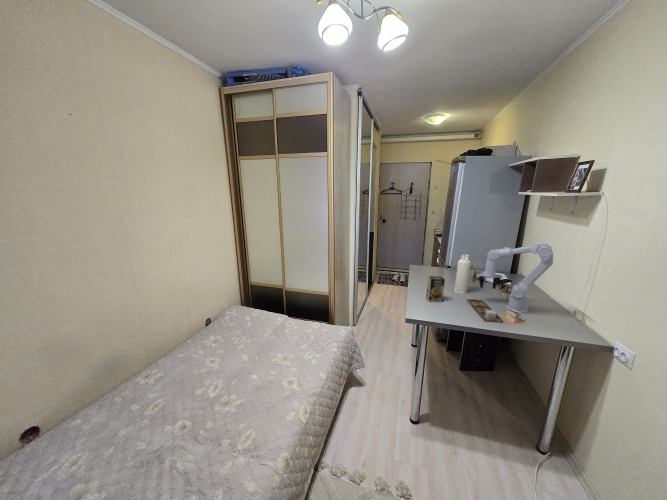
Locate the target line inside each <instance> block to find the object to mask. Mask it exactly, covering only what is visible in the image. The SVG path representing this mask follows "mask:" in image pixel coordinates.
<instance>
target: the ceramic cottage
mask: <svg viewBox="0 0 667 500" xmlns="http://www.w3.org/2000/svg"><path fill="white" fill-rule="evenodd" d="M470 262H471V261H470ZM484 273H485V272H484V270H483V269H476V268H475V267H474V265H473V262H471V265H470V271H469V278H468V284H475V285H476V284H479V285H480V282H479V279H478V277H477V274H484ZM483 278H484V279H485V280H484V283H483V284H486V279H487V278H485V277H483Z"/></svg>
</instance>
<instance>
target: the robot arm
mask: <svg viewBox="0 0 667 500" xmlns="http://www.w3.org/2000/svg"><path fill="white" fill-rule="evenodd" d="M525 253H530V254H534V255H538V256H539V257H540V263H538V265H537V266H535V267H533V269H532V270H531V271H530V272H529V273H528V274H527V275H526V276H525V277H524V278H523V279H522V280H520V281H519V282H518V283H516V284H514V285H513V286H512V288H511V289H512V290H511V293H510V294H509V299H508V305H505V307H506V308H507V310H511V309H513V310H516V311H518V312H520V313H521V314H522V313H524V314H528V308H529V303H530V301H529V298H528V297H527V296H525V294H526V292H527V291H528V289H529V288H530V287H532V285H533V284H534V283H535V282H536V281H537V280H538V279H539V278H541V276H542V275H543V274H544V273H546V271H548V270H549V269H550V267H552V266H553V264H554V263H553V262H554V252H553V249H552V247H551V245H550V244H548V243H540V244H531V245H526V246H521V247H516V248H511V247H508V246H505V247H504V248H499V249H498V248H495V249H490V250H489V251H488V253H487V258H486V263H485V269H484V272H483V273H484V274H477V277H478V279H479V282H480V284H479V287H480V288H481V289H483V288H484V284H485V283H484V280H485V281H486V279H488V278H489V279H493V280H492V285H491V286H492V289H493V290H495V289H496V287H497V286H498V285H499V283H500V282H501V279H503V275H502V274H496V271H497V265H498V261H497V260H498V259H504V258H510V257H513V255H518V254H525ZM483 277H485V278H486V279H484V278H483Z"/></svg>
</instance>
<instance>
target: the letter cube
mask: <svg viewBox="0 0 667 500" xmlns="http://www.w3.org/2000/svg"><path fill="white" fill-rule="evenodd" d="M505 315H506V316H505V319H508V320H510V321H512V322H518V321H520V319H521V317H522V313H521V312H518V311H516V310H513V309H511V310H509V309H507V310H506V312H505Z"/></svg>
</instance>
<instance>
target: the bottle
mask: <svg viewBox="0 0 667 500" xmlns="http://www.w3.org/2000/svg"><path fill="white" fill-rule="evenodd" d="M469 258H470V255H469V254H465V253H462V254H461V256H460V259H458V261H457V265H456V275H455V282H454V283H455V284H454V292H455V293H456V294H463V295H464V294H467V290H468V284H469V283H468V278H469V271H470V265H471V261H470V260H469Z"/></svg>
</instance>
